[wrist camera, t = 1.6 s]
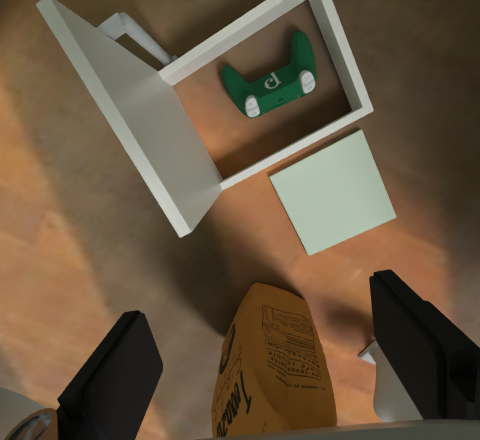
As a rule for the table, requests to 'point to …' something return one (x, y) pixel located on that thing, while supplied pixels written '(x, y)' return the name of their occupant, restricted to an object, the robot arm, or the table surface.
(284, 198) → the mat
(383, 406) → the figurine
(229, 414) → the coffee package
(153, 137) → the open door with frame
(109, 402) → the robot arm
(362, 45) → the table surface
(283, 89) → the gaming controller
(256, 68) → the table surface
